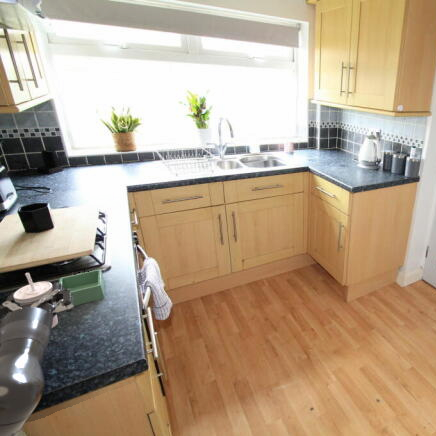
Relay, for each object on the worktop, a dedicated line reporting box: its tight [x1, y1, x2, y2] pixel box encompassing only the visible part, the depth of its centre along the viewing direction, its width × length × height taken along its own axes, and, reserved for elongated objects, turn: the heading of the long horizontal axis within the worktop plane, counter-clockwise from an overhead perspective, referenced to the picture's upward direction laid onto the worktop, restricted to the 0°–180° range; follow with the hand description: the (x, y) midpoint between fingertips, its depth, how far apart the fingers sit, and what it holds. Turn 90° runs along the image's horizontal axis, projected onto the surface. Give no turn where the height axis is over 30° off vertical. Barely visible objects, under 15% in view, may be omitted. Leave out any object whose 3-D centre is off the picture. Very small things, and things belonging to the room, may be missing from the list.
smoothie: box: [13, 272, 59, 329], centre depth 69 cm, size 6×6×14 cm
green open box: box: [58, 268, 106, 307], centre depth 95 cm, size 10×10×5 cm
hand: (37, 290), depth 70 cm, fingers closed on smoothie, 6 cm apart
